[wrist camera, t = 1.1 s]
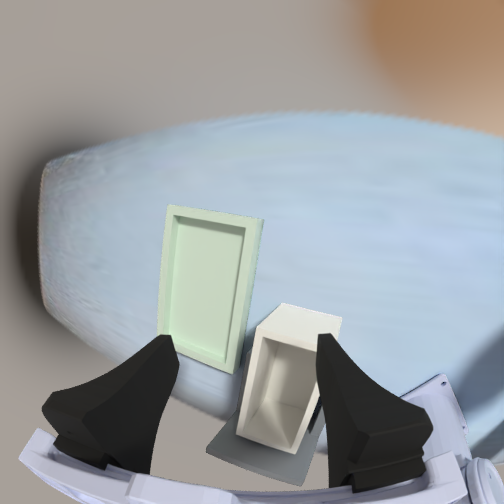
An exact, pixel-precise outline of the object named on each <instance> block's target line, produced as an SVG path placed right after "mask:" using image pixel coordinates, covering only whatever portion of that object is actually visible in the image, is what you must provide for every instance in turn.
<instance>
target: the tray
mask: <svg viewBox="0 0 504 504" xmlns="http://www.w3.org/2000/svg"><path fill="white" fill-rule="evenodd" d="M263 224H264V219H259V218H254V217H248V216H242V215H236V214H230V213H224V212H218V211H211V210H205V209H199V208H192V207H185V206H179V205H168V206H167V213H166V221H165V229H164V238H163V248H162V258H161V270H160V283H159V298H158V319H157V336H159V335H160V334H164V335H171V337H172V340H173V344H174V347H175V351H177V352H179V353H182V354H184V355H186V356H188V357H191V358H193V359H195V360H198V361H200V362H202V363H205V364H207V365H210V366H212V367H215V368H217V369H220V370H222V371H225V372H227V373H230V374H234V373H235V371H236V370H237V369H238V368H239V367H240V362H241V356H242V350H243V344H244V338H245V332H246V326H247V320H248V314H249V308H250V303H251V297H252V291H253V285H254V278H255V272H256V266H257V260H258V254H259V248H260V242H261V236H262V230H263Z"/></svg>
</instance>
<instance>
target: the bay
mask: <svg viewBox="0 0 504 504" xmlns="http://www.w3.org/2000/svg"><path fill="white" fill-rule="evenodd" d="M252 349H253V347H252V348H251V349H250V350H249V351H248V352H247V355H246V361H245V366H244V372H243V377H242V383H241V388H240V394H239V399H238V404H237V410H236V412H235V413H234V414H233V415H232V417H231V418H230V419H229V420H228V422H227V423H226V424H225V425H224V427H223V428H222V429H221V430H220V431H219V433H218V434H217V435H216V436H215V438H214V439H213V440H212V441H211V442H210V444H209V445H208V446H207V448H206V453H208V454H210V455H213V456H215V457H217V458H220V459H222V460H224V461H227V462H229V463H231V464H234V465H236V466H239V467H241V468H244V469H247V470H249V471H252V472H255V473H258V474H260V475H263V476H266V477H269V478H273V479H276V480H279V481H283V482H286V483H290V484H293V485H297V486H302V484H303V482H304V480H305V477H306V474H307V472H308V469H309V466H310V463H311V460H312V457H313V454H314V451H315V448H316V445H317V442H318V438H319V436H320V434H321V431H322V429H323V427H324V425H325V417H324V412H323V407H322V404H321V407H320V409H319V412H318V414H317V417H316V418H313V417H311V419H310V422H309V424H308V426H307V429H306V431H305V434H304V436H303V438H302V441H301V443H300V445H299V448H298V450H297V452H296V454H292V453H289V452H285V451H282V450H279V449H276V448H273V447H269V446H266V445H264V444H261V443H258V442H255V441H252V440H250V439H247V438H244V437H242V436H239V435H236V431H237V426H238V421H239V416H240V411H241V406H242V401H243V396H244V390H245V385H246V380H247V375H248V370H249V364H250V359H251V354H252Z"/></svg>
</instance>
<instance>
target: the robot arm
mask: <svg viewBox="0 0 504 504" xmlns="http://www.w3.org/2000/svg"><path fill="white" fill-rule="evenodd" d="M179 365H180V364H179V361H178V357H177V354H176V351H175V347H174V344H173V340H172V337H171V335H164V334H160V335H159V336H157V337H156V338H155V339H153V340H152V341H151V342H150V343H148V344H147V345H146V346H145V347H143V348H142V349H141V350H140V351H138V352H137V353H136V354H134V355H133V356H132V357H130V358H129V359H128V360H126V361H125V362H123V363H122V364H121V365H119V366H118V367H116V368H114V369H113V370H111V371H109V372H108V373H106V374H104V375H102V376H100V377H98V378H96V379H94V380H91V381H89V382H87V383H84V384H81V385H79V386H75V387H72V388H69V389H65V390H60V391H56V392H53V393H52V394H51V395H50V397H49V398H48V399H47V401H46V402H45V404H44V405H43V406H42V412H43V414H44V416H45V418H46V419H47V420H48V422H49V423H50V424H51V425H52V427H53V428H54V429H55V430H56V431H57V433H58V434H59V435H58V436H57V438H56V437H54V436H53V435H52V434H50V433H48V432H46V431H44V430H42V429H40V428H37V430H36V431H35V432H34V434H33V435H32V437H31V439H30V440H29V442H28V443H27V445H26V446H25V448H24V450H23V451H22V453H21V454H20V456H19V460H20V461H21V462H22V463H23V464H24V465H25V466H27V467H28V468H29V469H30V470H31V471H32V472H33V473H35V474H36V475H37V476H38V477H39V478H41V479H42V480H43V481H44V482H46V483H47V484H49V485H50V486H52V487H54V488H55V489H57V490H59V491H60V492H62V493H64V494H66V495H67V496H69V497H71V498H73V499H75V500H77V501H78V502H80V503H82V504H504V485H503V483H502V480H501V478H500V476H499V474H498V472H497V470H496V468H495V467H494V465H493V464H492V463H491V462H490V461H489V460H488V459H481V458H479V457H477V458H474V459H472V456H471V453H470V449H469V446H468V443H467V440H466V437H465V435H467V434H468V432H469V429H468V426H467V424H466V421H465V419H464V416H463V414H462V411H461V409H460V406H459V404H458V402H457V399H456V397H455V395H454V392H453V390H452V388H451V386H450V383H449V381H448V379H447V377H446V375H445V374H439V375H438V376H436V377H435V378H433V379H431V380H430V381H428V382H427V383H425V384H423V385H422V386H420V387H418V388H417V389H415V390H413V391H412V392H410V393H408V394H406V395H405V396H403V397H401V398H399V397H397V396H396V395H394V394H392V393H390V392H389V391H387V390H386V389H384V388H383V387H381V386H380V385H378V384H377V383H376V382H375V381H373V380H372V379H371V378H370V377H369V376H367V375H366V374H365V373H364V372H363V371H362V370H361V369H360V368H359V367H358V366H357V365H356V364H355V363H354V362H353V360H352V359H351V358H350V357H349V356H348V355H347V354H346V352H345V351H344V350H343V349H342V347H341V346H340V345H339V343H338V342H337V341H336V339H335V338H334V336H333V335H332V334H331V333H324V334H318V339H317V353H316V364H315V366H316V376H317V384H318V389H319V394H320V398H321V403H322V407H323V412H324V417H325V423H326V432H327V445H328V466H329V488H327V489H318V490H307V491H289V492H288V491H285V492H256V491H236V490H224V489H220V488H216V487H210V486H205V485H198V484H191V483H185V482H180V481H174V480H170V479H165V478H161V477H156V476H152V475H150V467H151V460H152V453H153V448H154V443H155V438H156V434H157V430H158V426H159V422H160V419H161V416H162V413H163V411H164V408H165V406H166V403H167V401H168V399H169V396H170V394H171V391H172V389H173V386H174V384H175V381H176V378H177V374H178V370H179ZM442 382H445V383H444V384H441V383H442Z"/></svg>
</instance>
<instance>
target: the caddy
mask: <svg viewBox="0 0 504 504" xmlns="http://www.w3.org/2000/svg"><path fill="white" fill-rule="evenodd" d="M341 322H342V317H338V316H334V315H330V314H326V313H322V312H318V311H314V310H310V309H306V308H302V307H298V306H294V305H290V304H286V303H281V304H280V305H279V306H278V307H277V308H276V309H275V310H274V311H273V312H272V313H271V314H270V315H269V316H268V317H267V318H266V319H265V320H264V321H263V322H261V323H260V324H259V325H258V326H257V327H256V332H255V338H254V343H253V349H252V354H251V359H250V364H249V370H248V375H247V380H246V385H245V390H244V396H243V401H242V406H241V411H240V416H239V421H238V426H237V431H236V435H239V436H242V437H244V438H247V439H250V440H252V441H255V442H258V443H261V444H264V445H266V446H269V447H273V448H276V449H279V450H282V451H285V452H289V453H292V454H296V452H297V450H298V448H299V445H300V443H301V441H302V438H303V436H304V434H305V431H306V429H307V426H308V424H309V422H310V419H311V417H312V414H313V412H314V409H315V406H316V404H317V401H318V398H319V396H320V394H319V389H318V384H317V376H316V366H315V364H316V353H317V339H318V334H324V333H331V334H332V335H333V336H334V338H335V339H336V341H337V340H338V335H339V331H340V326H341Z"/></svg>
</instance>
